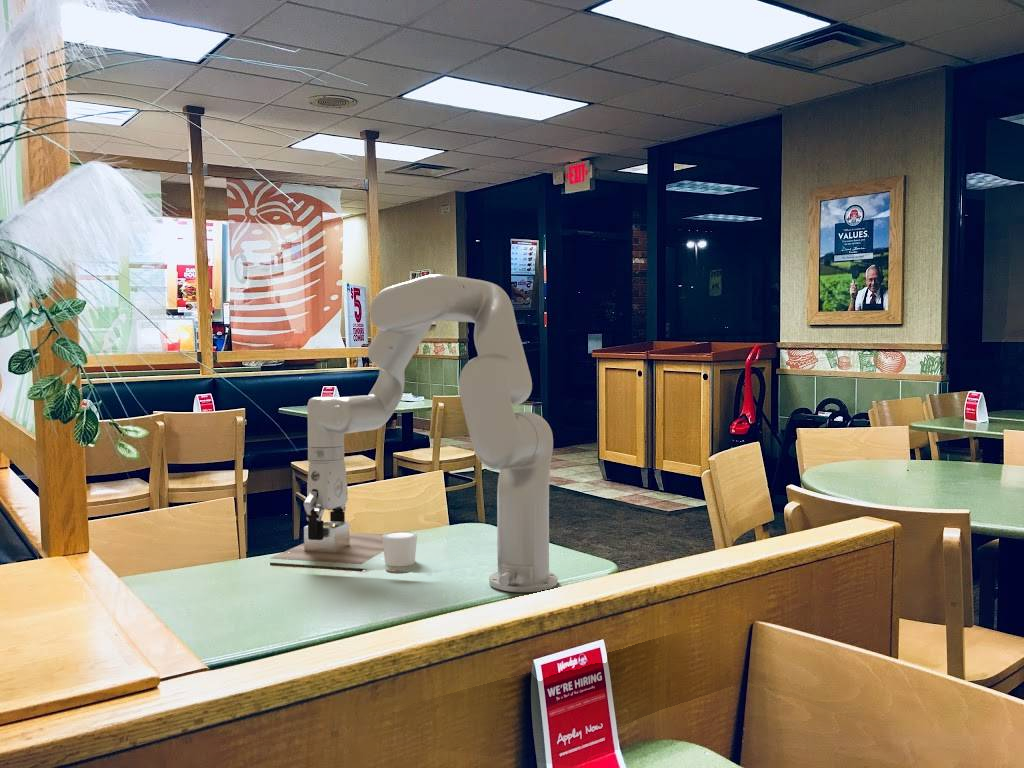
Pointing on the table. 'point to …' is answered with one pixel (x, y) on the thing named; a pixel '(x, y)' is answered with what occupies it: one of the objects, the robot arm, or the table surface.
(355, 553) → the brown flat slab
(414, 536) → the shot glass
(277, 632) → the table surface
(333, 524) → the small white box
